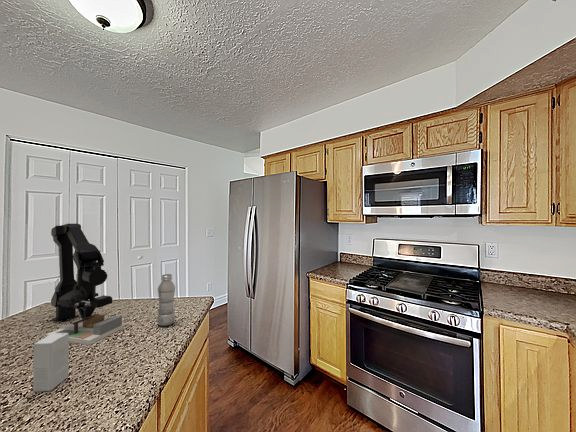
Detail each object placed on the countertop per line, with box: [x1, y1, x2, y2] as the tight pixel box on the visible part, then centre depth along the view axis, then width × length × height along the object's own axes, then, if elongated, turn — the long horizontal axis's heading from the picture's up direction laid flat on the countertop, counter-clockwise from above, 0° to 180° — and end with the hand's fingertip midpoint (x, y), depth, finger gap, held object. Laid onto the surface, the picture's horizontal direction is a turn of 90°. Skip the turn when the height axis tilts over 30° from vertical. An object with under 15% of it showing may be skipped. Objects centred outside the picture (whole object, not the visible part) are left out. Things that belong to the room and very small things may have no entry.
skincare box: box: [32, 333, 70, 393], centre depth 67 cm, size 6×4×12 cm
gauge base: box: [45, 315, 125, 346], centre depth 97 cm, size 19×14×5 cm
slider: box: [72, 313, 105, 334], centre depth 96 cm, size 4×10×4 cm, turn 167°
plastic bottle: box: [156, 273, 176, 327], centre depth 106 cm, size 6×7×20 cm
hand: (85, 322), depth 99 cm, fingers closed
